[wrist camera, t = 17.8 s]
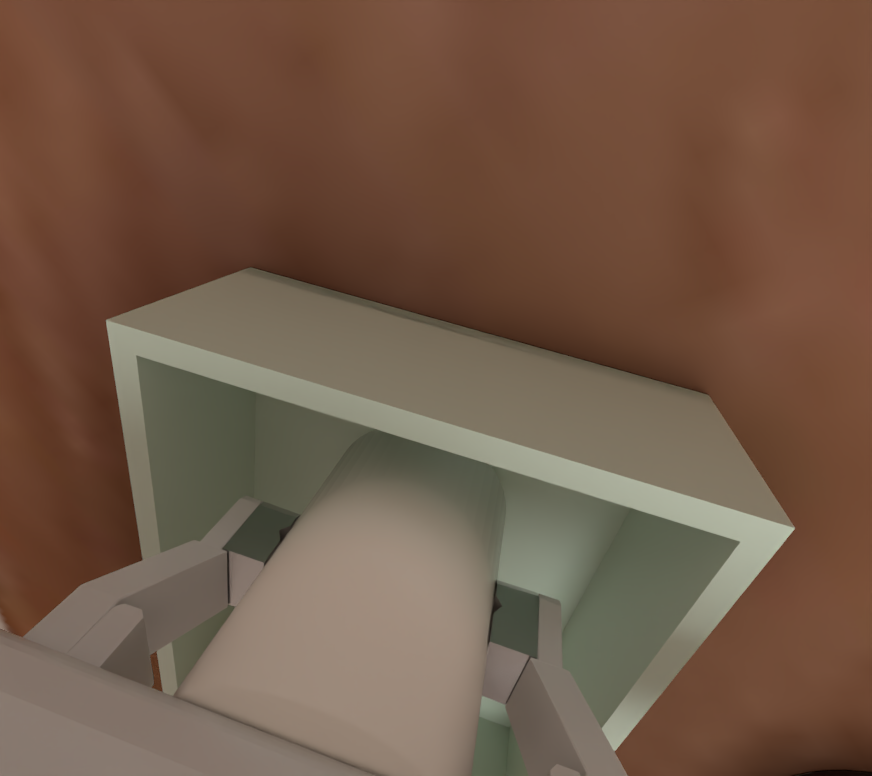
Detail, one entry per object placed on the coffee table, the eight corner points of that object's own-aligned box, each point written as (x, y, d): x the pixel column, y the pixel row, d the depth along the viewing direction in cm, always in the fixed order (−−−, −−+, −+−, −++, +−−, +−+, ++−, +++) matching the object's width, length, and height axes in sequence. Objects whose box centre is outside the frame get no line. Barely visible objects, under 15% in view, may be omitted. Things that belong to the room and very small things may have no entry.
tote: (520, 725, 20) (511, 879, 16) (247, 625, 22) (170, 742, 17) (708, 394, 12) (795, 527, 8) (250, 267, 14) (105, 320, 9)
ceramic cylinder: (529, 457, 12) (504, 780, 6) (480, 585, 14) (426, 908, 8) (346, 401, 12) (141, 642, 6) (329, 533, 15) (170, 802, 9)
